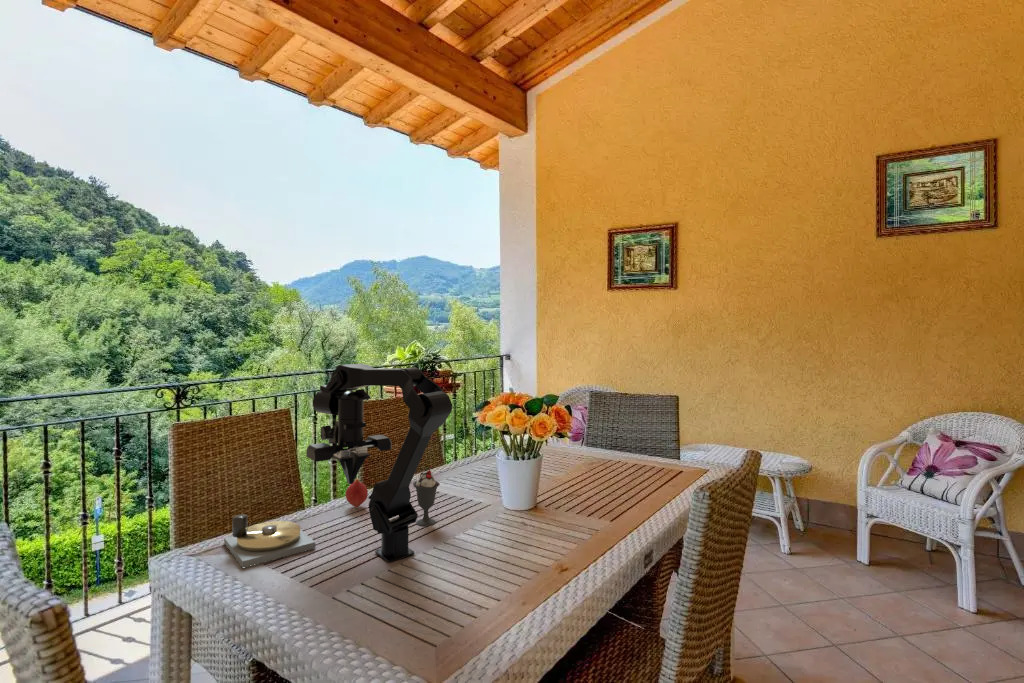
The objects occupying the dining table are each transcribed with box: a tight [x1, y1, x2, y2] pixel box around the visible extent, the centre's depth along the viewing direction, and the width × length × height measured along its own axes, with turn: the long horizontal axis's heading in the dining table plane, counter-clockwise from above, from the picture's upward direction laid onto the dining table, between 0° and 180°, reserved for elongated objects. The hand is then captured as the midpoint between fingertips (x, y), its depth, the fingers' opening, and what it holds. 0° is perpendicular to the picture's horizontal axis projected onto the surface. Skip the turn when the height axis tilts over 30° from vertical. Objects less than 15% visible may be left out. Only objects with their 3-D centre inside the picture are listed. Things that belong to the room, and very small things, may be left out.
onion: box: [345, 478, 369, 508], centre depth 145 cm, size 6×6×8 cm
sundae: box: [412, 465, 440, 527], centre depth 135 cm, size 7×7×15 cm
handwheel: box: [231, 513, 301, 551], centre depth 120 cm, size 13×13×6 cm
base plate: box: [223, 528, 316, 568], centre depth 120 cm, size 15×15×2 cm
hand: (350, 483), depth 125 cm, fingers closed
